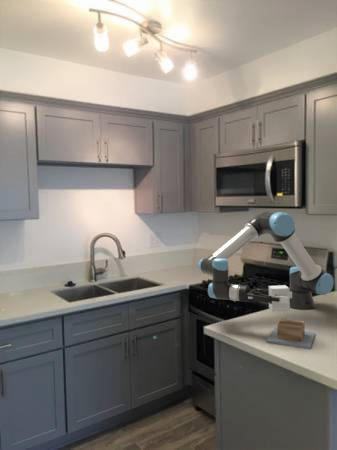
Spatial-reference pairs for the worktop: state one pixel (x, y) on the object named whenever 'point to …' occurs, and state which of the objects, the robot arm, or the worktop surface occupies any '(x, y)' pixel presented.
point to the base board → (304, 343)
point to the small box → (279, 291)
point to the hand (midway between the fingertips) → (289, 297)
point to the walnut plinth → (291, 330)
